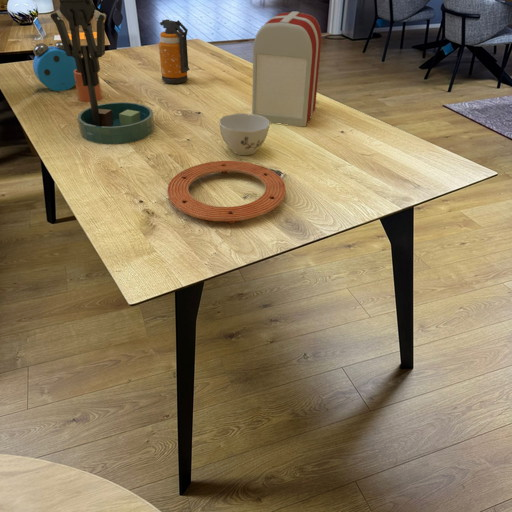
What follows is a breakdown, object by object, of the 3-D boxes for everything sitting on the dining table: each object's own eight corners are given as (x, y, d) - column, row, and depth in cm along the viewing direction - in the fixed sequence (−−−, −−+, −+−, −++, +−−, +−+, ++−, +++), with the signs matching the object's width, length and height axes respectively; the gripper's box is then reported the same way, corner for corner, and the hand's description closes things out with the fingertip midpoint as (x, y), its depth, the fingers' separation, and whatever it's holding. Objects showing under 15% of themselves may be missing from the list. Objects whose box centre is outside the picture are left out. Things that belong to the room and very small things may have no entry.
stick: (92, 125, 129) (79, 45, 119) (95, 123, 131) (82, 44, 120) (99, 125, 129) (86, 45, 119) (101, 123, 131) (89, 44, 120)
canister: (174, 76, 176) (169, 16, 164) (197, 81, 170) (194, 20, 159) (157, 81, 170) (150, 19, 158) (180, 87, 165) (175, 24, 153)
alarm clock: (77, 84, 165) (68, 37, 157) (83, 89, 161) (74, 41, 152) (38, 90, 159) (26, 42, 150) (43, 95, 155) (31, 46, 146)
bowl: (70, 145, 124) (66, 126, 121) (94, 118, 140) (91, 101, 137) (145, 147, 123) (143, 128, 120) (160, 120, 139) (159, 103, 136)
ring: (267, 237, 91) (267, 226, 89) (147, 215, 96) (145, 204, 95) (297, 179, 110) (298, 169, 109) (195, 163, 116) (195, 154, 115)
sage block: (121, 128, 132) (118, 113, 130) (129, 123, 135) (127, 109, 133) (133, 130, 131) (131, 116, 129) (141, 125, 134) (139, 111, 132)
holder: (75, 103, 150) (69, 73, 145) (83, 95, 156) (77, 67, 150) (98, 103, 150) (93, 74, 144) (105, 96, 156) (100, 67, 150)
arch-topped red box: (316, 107, 150) (325, 12, 134) (306, 127, 136) (315, 24, 121) (265, 102, 154) (268, 9, 138) (250, 121, 140) (251, 19, 124)
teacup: (274, 159, 119) (275, 128, 114) (224, 163, 116) (223, 132, 112) (260, 136, 131) (260, 107, 126) (214, 139, 128) (213, 110, 123)
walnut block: (93, 127, 132) (91, 112, 130) (100, 122, 135) (98, 108, 133) (107, 128, 131) (105, 113, 129) (113, 124, 135) (111, 109, 132)
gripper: (108, -20, 114) (123, 81, 128) (47, -22, 114) (68, 79, 128) (99, -16, 108) (115, 89, 122) (34, -18, 108) (57, 88, 122)
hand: (91, 84), depth 125 cm, fingers closed on stick, 2 cm apart
